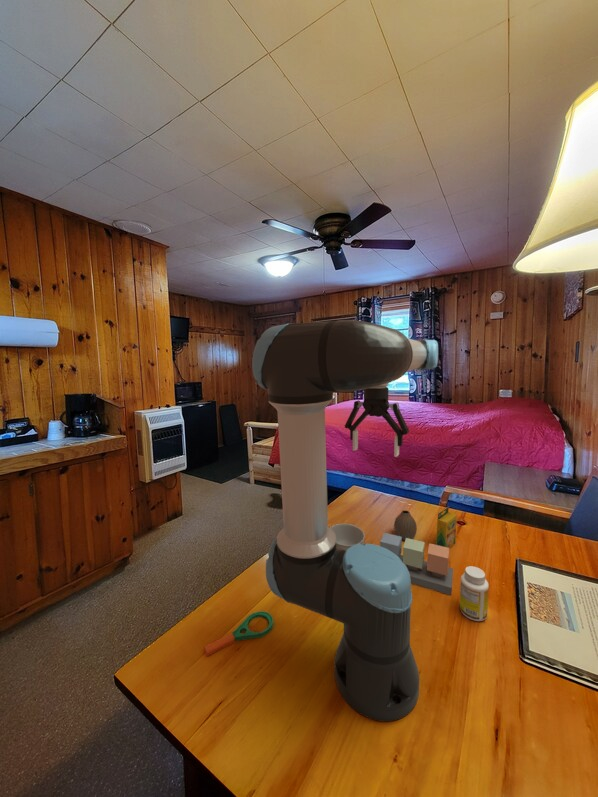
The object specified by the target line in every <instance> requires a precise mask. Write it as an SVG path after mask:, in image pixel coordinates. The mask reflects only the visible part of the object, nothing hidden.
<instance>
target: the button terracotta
mask: <svg viewBox="0 0 598 797" xmlns="http://www.w3.org/2000/svg"><path fill="white" fill-rule="evenodd" d="M426 556H427V557H426V558H427V560H426V562H427V570H428V571H432V572H435V573H439V574H443V575H446V576H448V567H449V562H450V549H449V548H447V547H443V546H439V545H436V544H434V543H429V544H428V550H427V555H426Z"/></svg>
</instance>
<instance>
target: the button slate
mask: <svg viewBox="0 0 598 797" xmlns="http://www.w3.org/2000/svg"><path fill="white" fill-rule="evenodd" d="M379 542H380V543H379V546H381V547H383V548H386V549H388V550H390V551H391V552H393V553H394V554H396V555H397V556H398V557H399V558H400V555H402V548H403V546H402V543H403V540H402V537H400V536H397V535H396V534H391V533H386V532H384V533H383V535H382V537H381V540H380V541H379Z"/></svg>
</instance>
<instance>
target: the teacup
mask: <svg viewBox="0 0 598 797" xmlns="http://www.w3.org/2000/svg"><path fill="white" fill-rule="evenodd" d="M329 527H330V528H331V529H332V530H333V531H334V533H335V535H336V547H337V548H339V549H342V550H345V551H347V549H348V548H350V547H351V546H353V545H356V544H361V545H364V544H365V538H366V537H365V536H366V534H365V532H364V530H363V529H362V528H360V527H358V525H355V524H352V523H345V522H344V523H343V522H342V523H336V524H333V525H332V526H329Z"/></svg>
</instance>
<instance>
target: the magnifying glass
mask: <svg viewBox="0 0 598 797" xmlns="http://www.w3.org/2000/svg"><path fill="white" fill-rule="evenodd" d="M257 618H263V619H266V620H267V621H268V626H267V627H266V629H264V630H262V631H259V632H258V631H257V632H255V631H252V630H250V629H249V623H250V622H251V621H253V619H257ZM273 627H274V619H273V616H272V614H271V613H270V612H267V611H263V610H262V611H255V612H252V613H251V614H249V615H248V616H247V617H246V618H245V619H244V620H243V621H242V622H241V624H239V625H238V627H236V628H235V630H233V631H232V632H231V633H229V634H227V635H225V636H223V637H221V638H219V639H217V640H215V641H212V642H211V643H209V644H206V645H205V646H204V647H203V650H204V653H205V656H206V657H209V656H211V655H212V654H215V653H217V652H218V651H221V650H222V649H225V648H227V647H228V646H230V645H232V644H234V643H236V642H237V641H245V640H252V639H258V638H262V637H264V636H266V635H268V634H269V633H270V632H271V631H272V629H273ZM243 632H244V633H243Z"/></svg>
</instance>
